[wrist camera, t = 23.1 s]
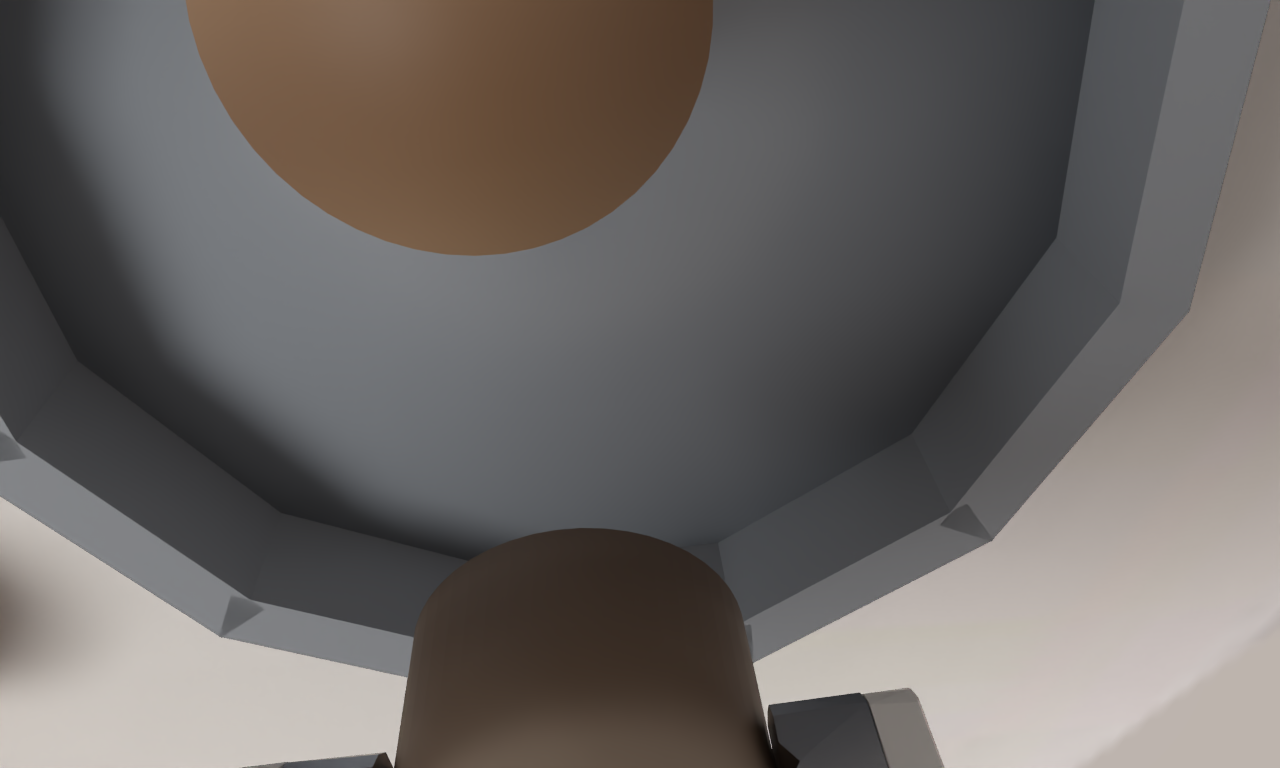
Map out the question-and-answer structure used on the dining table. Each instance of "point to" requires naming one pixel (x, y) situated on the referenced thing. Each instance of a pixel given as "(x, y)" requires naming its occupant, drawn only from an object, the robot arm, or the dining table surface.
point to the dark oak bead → (582, 661)
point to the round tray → (603, 314)
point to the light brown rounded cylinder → (459, 107)
